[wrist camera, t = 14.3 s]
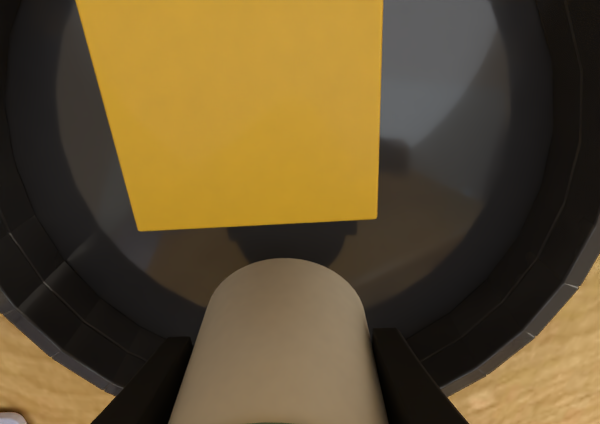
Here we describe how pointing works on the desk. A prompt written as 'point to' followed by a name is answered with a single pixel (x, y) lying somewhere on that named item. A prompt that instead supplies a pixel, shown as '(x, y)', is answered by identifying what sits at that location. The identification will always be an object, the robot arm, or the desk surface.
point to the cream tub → (282, 352)
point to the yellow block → (241, 108)
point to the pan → (322, 235)
